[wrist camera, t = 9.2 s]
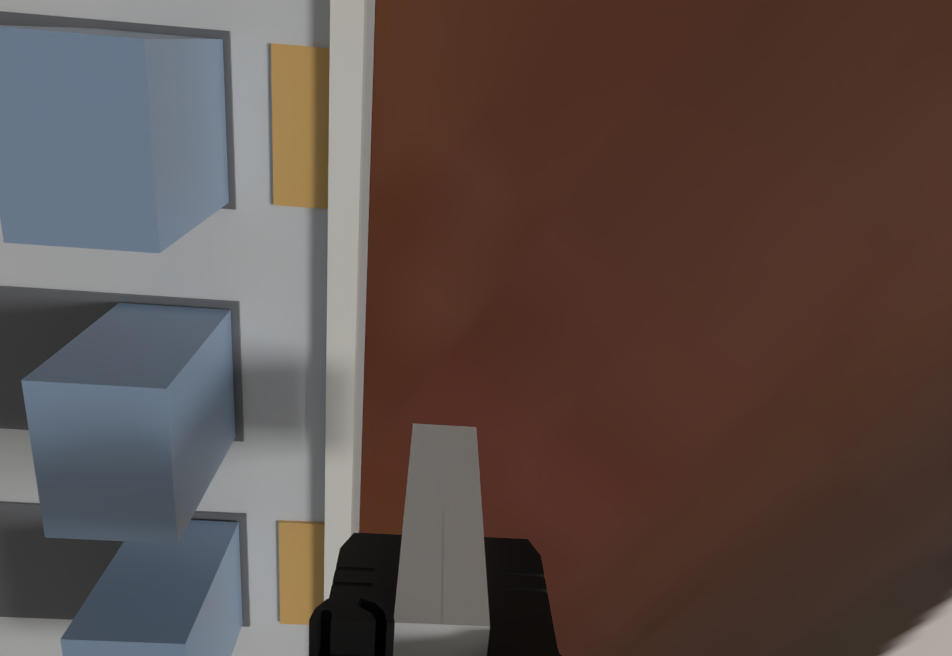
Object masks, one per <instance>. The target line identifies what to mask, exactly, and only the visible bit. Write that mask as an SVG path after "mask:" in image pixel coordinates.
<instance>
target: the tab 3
mask: <svg viewBox="0 0 952 656" xmlns="http://www.w3.org/2000/svg"><path fill="white" fill-rule="evenodd" d="M242 624H243V621H242V595H241V569H240V543H239V522H225V521H205V520H190V522H189V524H188V526H187V527H186V529H185V531H184V533H183V535H182V537H181V539H180V540H179V542H178V544H173V543H152V542H130V541H124V542H123V544H122V545H121V547H120V548H119V550H118V551H117V553H116V554H115V556H114V558H113V559H112V561H111V562H110V564H109V565H108V567H107V568H106V570H105V571H104V573H103V574H102V576H101V578H100V579H99V581H98V582H97V584H96V585H95V587H94V588H93V590H92V591H91V593H90V594H89V596H88V597H87V599H86V601H85V602H84V604H83V605H82V607H81V608H80V610H79V611H78V613H77V614H76V616H75V617H74V619H73V621H72V622H71V624H70V625H69V627H68V628H67V630H66V631H65V633H64V634H63V636H62V637H61V639H60V641H61V648H62V654H63V656H231V655H232V652H233V650H234V647H235V644H236V641H237V638H238V636H239V633H240V630H241V627H242Z"/></svg>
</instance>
